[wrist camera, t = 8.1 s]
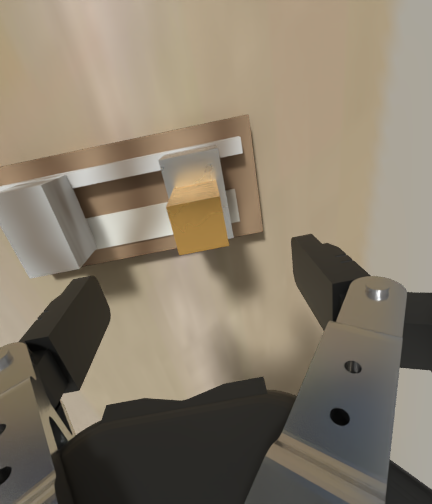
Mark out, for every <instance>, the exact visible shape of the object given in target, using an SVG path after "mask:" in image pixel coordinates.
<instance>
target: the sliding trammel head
mask: <svg viewBox="0 0 432 504" xmlns="http://www.w3.org/2000/svg"><path fill="white" fill-rule="evenodd" d="M158 161H159V165H160V168H161V172H162V176H163V179H164V183H165V187H166V190H167V194H168V198H169V201H168V203H167V205H166V209H167V213H168V217H169V220H170V224H171V227H172V231H173V234H174V238H175V242H176V245H177V249H178V252H179V255H184V254H189V253H194V252H199V251H205V250H210V249H215V248H220V247H225V246H229V242H228V239H230V238H234V237H233V231H232V225H231V220H230V214H229V208H228V203H227V197H226V191H225V186H224V180H223V175H222V169H221V163H220V158H219V152H218V147H217V146H216V144H214V145H209V146H204V147H199V148H195V149H190V150H185V151H180V152H175V153H171V154H166V155H164V156H162V157H161V158H160V159H159V160H158Z"/></svg>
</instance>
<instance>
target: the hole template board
mask: <svg viewBox="0 0 432 504" xmlns="http://www.w3.org/2000/svg"><path fill="white" fill-rule="evenodd" d="M214 144H216V146H217V147H218V152H219V158H220V163H221V169H222V175H223V180H224V186H225V191H226V197H227V203H228V208H229V214H230V220H231V225H232V231H233V237H237V236H242V235H247V234H252V233H258V232H263V226H262V218H261V210H260V202H259V194H258V186H257V178H256V170H255V162H254V154H253V146H252V138H251V130H250V122H249V115H243V116H238V117H233V118H229V119H224V120H219V121H215V122H210V123H205V124H200V125H196V126H191V127H186V128H182V129H177V130H172V131H167V132H163V133H158V134H153V135H148V136H144V137H139V138H134V139H130V140H125V141H120V142H115V143H111V144H106V145H101V146H97V147H92V148H87V149H82V150H78V151H73V152H68V153H64V154H59V155H54V156H49V157H45V158H40V159H35V160H31V161H26V162H21V163H16V164H12V165H7V166H2V167H0V226H1V228H2V230H3V232H4V233H5V235H6V237H7V239H8V241H9V242H10V244H11V246H12V248H13V249H14V251H15V253H16V255H17V257H18V258H19V260H20V262H21V264H22V265H23V267H24V269H25V271H26V272H27V274H28V276H29V278H35V277H40V276H45V275H51V274H56V273H61V272H66V271H71V270H76V269H80V268H81V267H83V266H88V265H93V264H98V263H103V262H109V261H114V260H119V259H124V258H129V257H134V256H139V255H145V254H150V253H155V252H160V251H165V250H170V249H175V248H177V245H176V242H175V238H174V234H173V231H172V227H171V224H170V220H169V217H168V213H167V209H166V205H167V203H168V201H169V198H168V194H167V190H166V187H165V183H164V179H163V176H162V172H161V168H160V165H159V161H158V160H159V159H160V158H161V157H162V156H164V155H166V154H171V153H175V152H180V151H185V150H190V149H195V148H199V147H204V146H209V145H214Z"/></svg>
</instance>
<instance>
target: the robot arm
mask: <svg viewBox="0 0 432 504" xmlns="http://www.w3.org/2000/svg"><path fill="white" fill-rule="evenodd" d="M291 248H292V261H293V274H294V279H295V282H296V285H297V287H298V289H299V290H300V292H301V294H302V295H303V297H304V299H305V300H306V302H307V304H308V305H309V307H310V309H311V310H312V312H313V314H314V315H315V317H316V319H317V320H318V322H319V323H320V325H321V327H322V328H323V330H324V333H323V335H322V338H321V340H320V342H319V345H318V347H317V350H316V352H315V354H314V357H313V359H312V362H311V364H310V366H309V369H308V371H307V374H306V376H305V378H304V381H303V383H302V386H301V388H300V390H299V393H298V395H297V396H295V395H292V394H289V393H286V392H281V391H276V390H266V386H265V382H264V378H263V377H259V378H254V379H248V380H242V381H237V382H231V383H226V384H223V385H220V386H218V387H216V388H213V389H211V390H208V391H206V392H204V393H201V394H199V395H197V396H194V397H192V398H190V399H187V400H183V401H177V400H163V399H148V398H143V399H138V400H132V401H127V402H121V403H116V404H110V405H106V408H105V411H104V414H103V418H102V420H101V421H99V422H97V423H95V424H93V425H91V426H89V427H88V428H86V429H85V430H83V431H81V432H80V433H78V434H77V435H76V434H75V432H74V429H73V426H72V424H71V421H70V419H69V416H68V413H67V411H66V408H65V406H64V404H63V402H62V401H61V397H62V395H63V393H68V392H74V391H79V390H80V388H81V386H82V384H83V381H84V379H85V377H86V374H87V372H88V370H89V368H90V365H91V363H92V361H93V359H94V356H95V354H96V352H97V349H98V347H99V345H100V343H101V340H102V338H103V336H104V334H105V331H106V329H107V327H108V325H109V322H110V316H111V315H110V308H109V305H108V303H107V301H106V298H105V296H104V294H103V291H102V289H101V287H100V285H99V282H98V280H97V279H96V277H95V276H88V277H83V278H78V279H73V280H72V281H71V283H70V284H69V285H68V286H67V288H66V289H65V290H64V291H63V293H62V294H61V295H60V296H58V297H57V298H56V299H54V300H53V301H52V302H51V303H50V304H49V305H48V306H47V308H46V309H45V310H44V313H42V314H41V315H40V316H39V317H38V320H36V321H35V322H34V324H33V325H32V326H31V327H30V328H29V330H28V331H27V332H26V333H25V335H24V336H23V337H22V338H21V340H20V341H19V342H16V343H11V344H8V345H5V346H3V347H1V348H0V504H432V489H430V488H428V487H427V486H426V485H425V484H423V483H422V482H420V481H419V480H418V479H416V478H415V477H413V476H412V475H411V474H409V473H408V472H407V471H405V470H404V469H402V468H401V467H400V466H398V465H397V464H395V463H394V462H393V461H391V460H390V451H391V442H392V433H393V423H394V414H395V405H396V396H397V387H398V378H399V368H410V369H422V370H431V372H432V293H412V292H407V291H406V289H405V288H404V286H403V285H401V284H400V283H398V282H396V281H394V280H391V279H389V278H385V277H378V276H370V275H369V274H368V273H367V272H366V271H365V270H364V269H362V268H361V267H360V266H359V265H358V264H357V263H356V262H355V261H352V259H351V258H350V257H349V256H348V255H346V253H344V252H343V251H342V250H341V249H340V248H339V247H336V246H334V245H331V244H329V243H325V244H322V243H321V242H320V241H319V240H317V239H316V238H315V237H314V236H313V235H312V234H308V235H303V236H297V237H292V240H291Z"/></svg>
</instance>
